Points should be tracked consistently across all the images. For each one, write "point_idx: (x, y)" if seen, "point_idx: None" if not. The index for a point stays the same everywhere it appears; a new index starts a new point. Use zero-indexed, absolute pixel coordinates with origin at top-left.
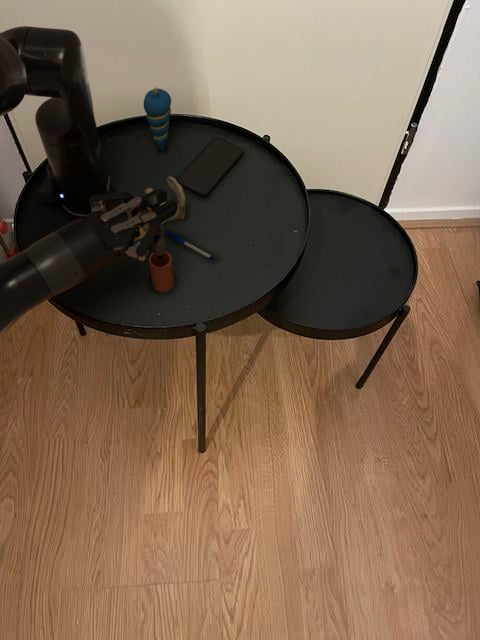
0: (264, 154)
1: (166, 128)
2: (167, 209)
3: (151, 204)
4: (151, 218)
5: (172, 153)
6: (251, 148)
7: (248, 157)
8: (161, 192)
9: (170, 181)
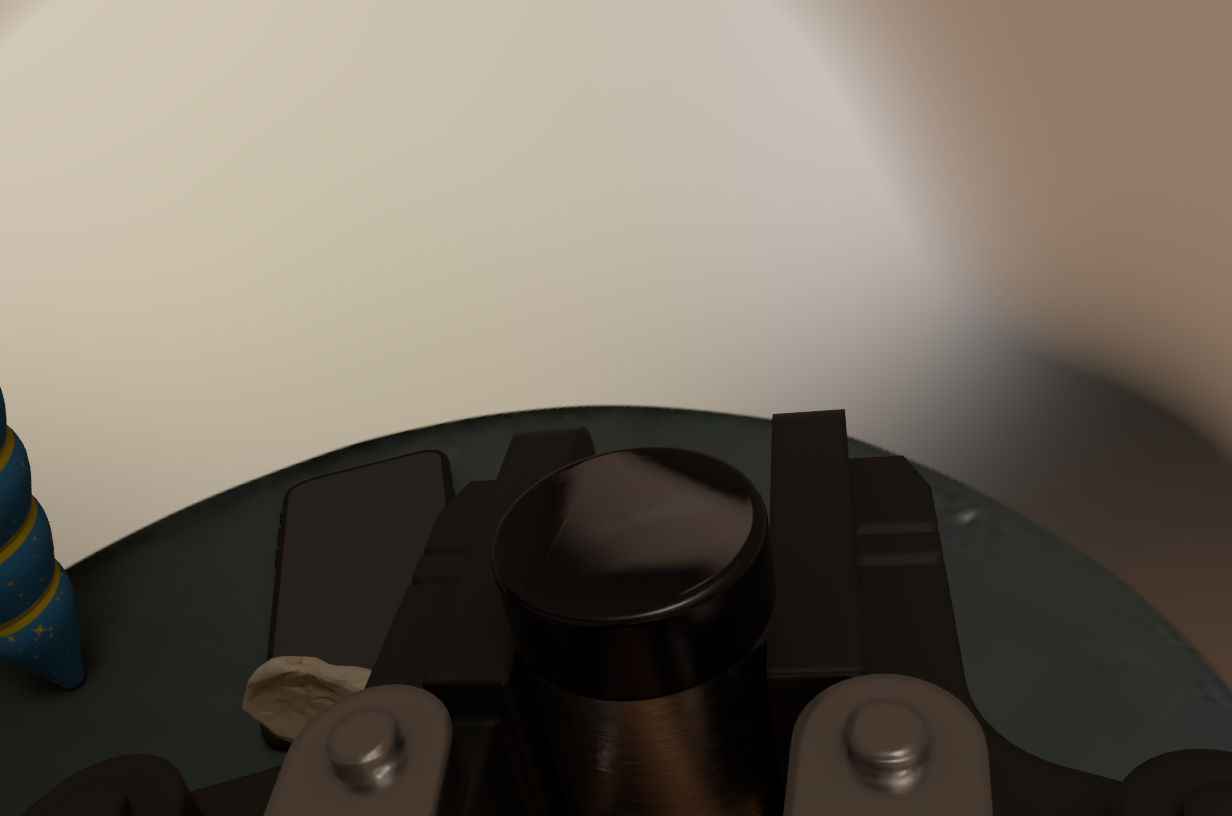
0: (519, 422)
1: (45, 540)
2: (884, 543)
3: (716, 583)
4: (978, 804)
5: (140, 663)
6: (453, 438)
7: (475, 464)
8: (567, 458)
9: (279, 697)
